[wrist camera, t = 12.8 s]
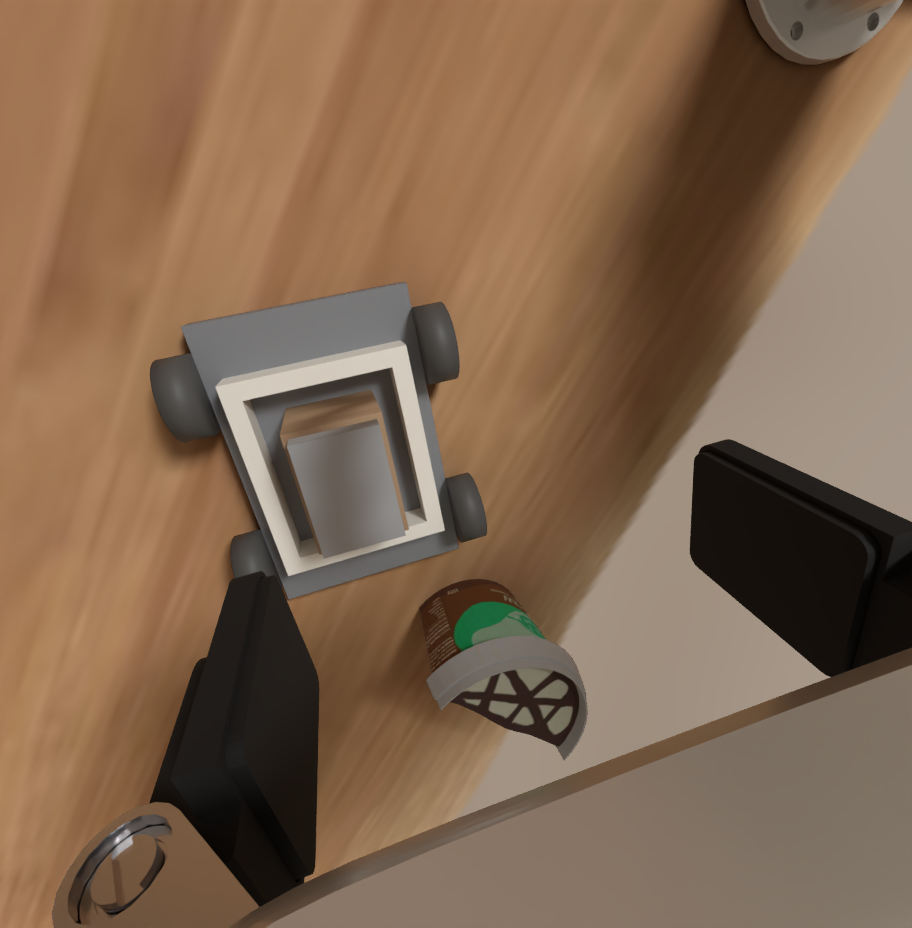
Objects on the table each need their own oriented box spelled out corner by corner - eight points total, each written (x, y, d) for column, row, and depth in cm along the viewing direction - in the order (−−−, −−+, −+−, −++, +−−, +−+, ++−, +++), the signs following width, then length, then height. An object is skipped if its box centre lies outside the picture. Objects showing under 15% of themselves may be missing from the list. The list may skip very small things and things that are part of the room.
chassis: (428, 276, 28) (446, 278, 25) (473, 531, 36) (493, 563, 32) (156, 329, 26) (127, 340, 22) (266, 593, 33) (259, 636, 29)
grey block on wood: (371, 389, 28) (384, 417, 23) (395, 492, 31) (412, 538, 26) (285, 408, 28) (278, 442, 22) (319, 512, 30) (319, 565, 25)
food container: (561, 605, 41) (629, 699, 32) (515, 656, 42) (569, 762, 33) (454, 539, 36) (501, 629, 27) (404, 599, 37) (433, 707, 28)
